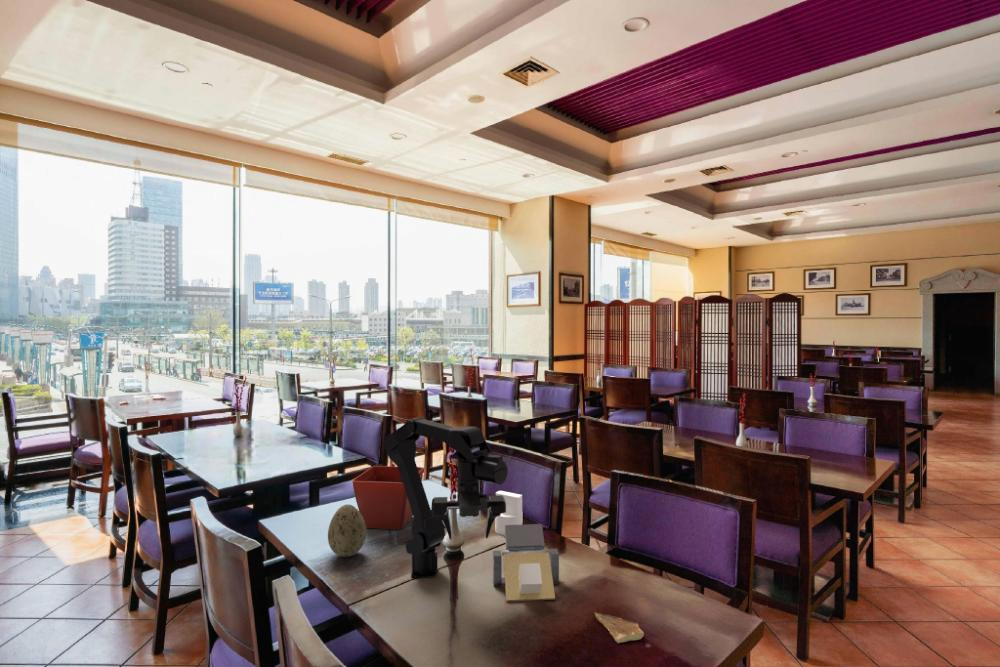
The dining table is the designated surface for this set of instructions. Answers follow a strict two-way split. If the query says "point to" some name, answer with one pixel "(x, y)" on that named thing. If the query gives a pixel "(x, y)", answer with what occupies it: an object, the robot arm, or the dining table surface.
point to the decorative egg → (346, 531)
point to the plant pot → (383, 497)
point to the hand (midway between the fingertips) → (468, 538)
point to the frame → (501, 581)
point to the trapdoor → (526, 561)
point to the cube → (530, 578)
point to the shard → (620, 628)
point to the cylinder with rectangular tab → (509, 512)
